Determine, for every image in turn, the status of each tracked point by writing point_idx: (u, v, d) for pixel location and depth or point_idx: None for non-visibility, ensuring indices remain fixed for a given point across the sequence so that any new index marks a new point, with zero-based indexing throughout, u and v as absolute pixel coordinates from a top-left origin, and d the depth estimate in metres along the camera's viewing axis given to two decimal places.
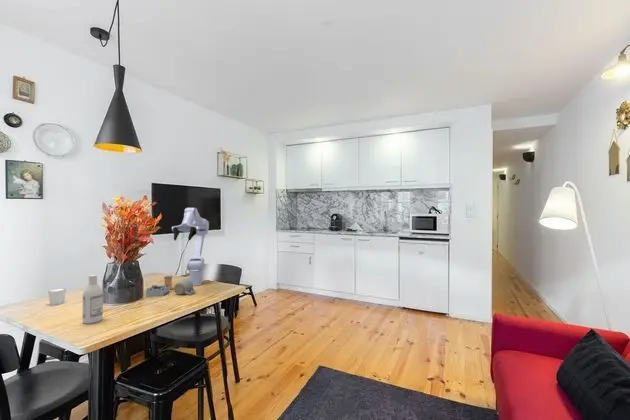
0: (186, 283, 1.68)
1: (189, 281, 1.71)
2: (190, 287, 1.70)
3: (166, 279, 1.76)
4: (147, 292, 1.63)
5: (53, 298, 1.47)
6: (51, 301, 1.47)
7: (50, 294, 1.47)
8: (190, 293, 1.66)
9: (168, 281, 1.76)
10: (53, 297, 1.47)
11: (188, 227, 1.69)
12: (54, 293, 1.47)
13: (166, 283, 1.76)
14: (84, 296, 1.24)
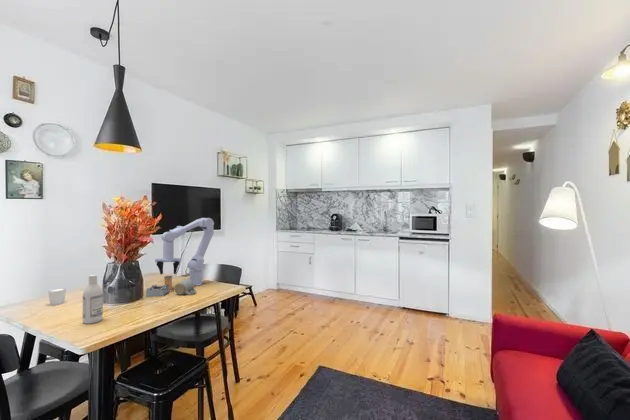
0: (187, 283, 1.68)
1: (190, 281, 1.71)
2: (191, 287, 1.70)
3: (166, 279, 1.76)
4: (147, 292, 1.63)
5: (53, 298, 1.47)
6: (51, 301, 1.47)
7: (50, 294, 1.47)
8: (191, 293, 1.66)
9: (168, 281, 1.76)
10: (53, 297, 1.47)
11: None
12: (54, 293, 1.47)
13: (166, 283, 1.76)
14: (84, 296, 1.24)
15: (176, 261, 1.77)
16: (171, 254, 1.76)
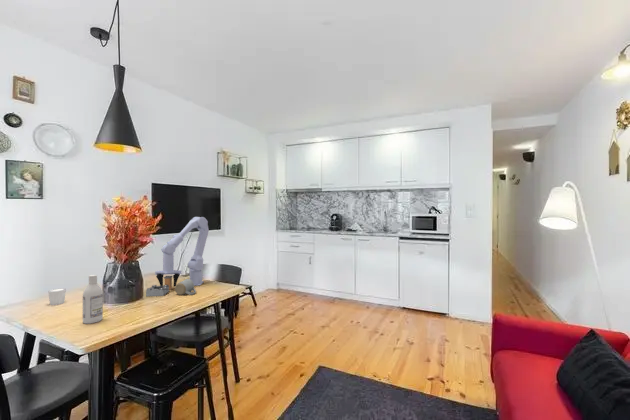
0: (187, 283, 1.68)
1: (190, 281, 1.71)
2: (191, 287, 1.69)
3: (166, 279, 1.76)
4: (147, 292, 1.63)
5: (53, 298, 1.47)
6: (51, 301, 1.47)
7: (50, 294, 1.47)
8: (191, 293, 1.66)
9: (168, 281, 1.76)
10: (53, 297, 1.47)
11: None
12: (54, 293, 1.47)
13: (166, 283, 1.76)
14: (84, 296, 1.24)
15: (176, 273, 1.77)
16: (171, 266, 1.76)
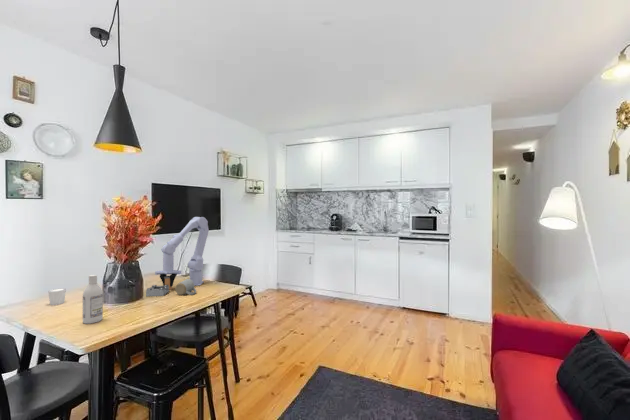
0: (187, 283, 1.68)
1: (190, 281, 1.71)
2: (191, 287, 1.69)
3: (166, 279, 1.76)
4: (147, 292, 1.63)
5: (53, 298, 1.47)
6: (51, 301, 1.47)
7: (50, 294, 1.47)
8: (191, 293, 1.66)
9: (168, 281, 1.76)
10: (53, 297, 1.47)
11: None
12: (54, 293, 1.47)
13: (166, 283, 1.76)
14: (84, 296, 1.24)
15: (173, 273, 1.77)
16: (171, 266, 1.76)
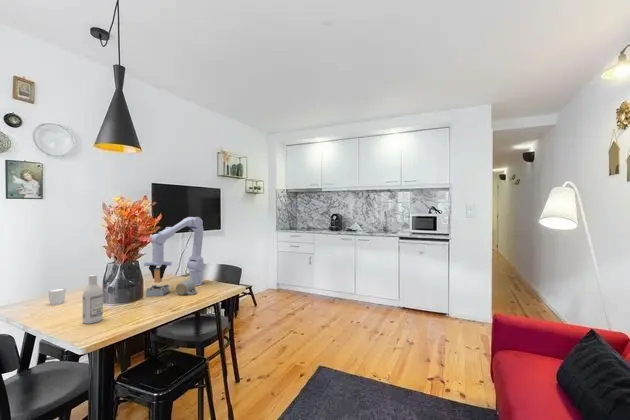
0: (188, 283, 1.68)
1: (191, 281, 1.70)
2: (192, 287, 1.69)
3: (156, 271, 1.67)
4: (147, 292, 1.63)
5: (53, 298, 1.47)
6: (51, 301, 1.47)
7: (50, 294, 1.47)
8: (192, 293, 1.66)
9: (158, 273, 1.67)
10: (53, 297, 1.47)
11: None
12: (54, 293, 1.47)
13: (156, 275, 1.67)
14: (84, 296, 1.24)
15: (163, 265, 1.68)
16: (161, 257, 1.67)
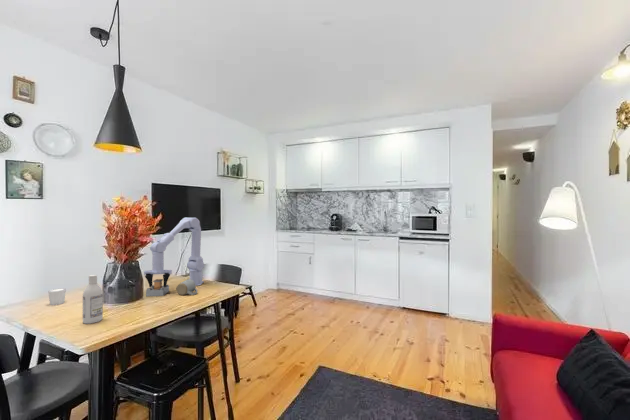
0: (189, 283, 1.67)
1: (192, 281, 1.70)
2: (193, 287, 1.69)
3: (156, 283, 1.67)
4: (147, 292, 1.63)
5: (53, 298, 1.47)
6: (51, 301, 1.47)
7: (50, 294, 1.47)
8: (193, 293, 1.66)
9: (158, 285, 1.67)
10: (53, 297, 1.47)
11: None
12: (54, 293, 1.47)
13: (156, 287, 1.67)
14: (84, 296, 1.24)
15: (166, 273, 1.68)
16: (161, 266, 1.67)
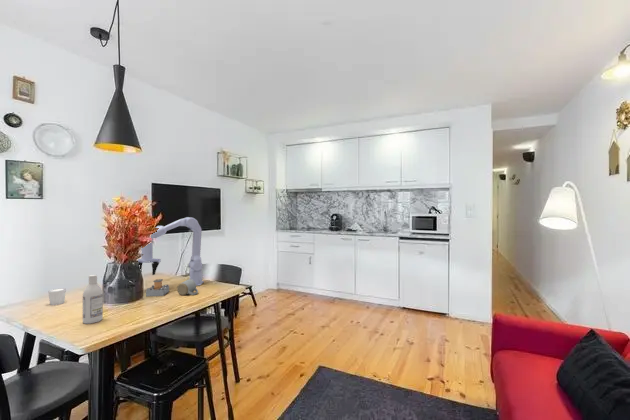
0: (189, 283, 1.67)
1: (192, 281, 1.70)
2: (193, 287, 1.69)
3: (156, 283, 1.67)
4: (147, 292, 1.63)
5: (53, 298, 1.47)
6: (51, 301, 1.47)
7: (50, 294, 1.47)
8: (193, 293, 1.65)
9: (158, 285, 1.67)
10: (53, 297, 1.47)
11: None
12: (54, 293, 1.47)
13: (156, 287, 1.67)
14: (84, 296, 1.24)
15: (155, 262, 1.73)
16: (150, 254, 1.72)
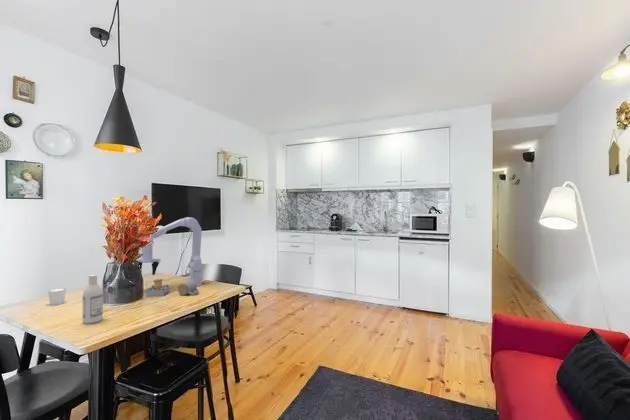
0: (190, 283, 1.67)
1: (193, 281, 1.70)
2: (194, 287, 1.69)
3: (156, 283, 1.67)
4: (147, 292, 1.63)
5: (53, 298, 1.47)
6: (51, 301, 1.47)
7: (50, 294, 1.47)
8: (194, 293, 1.65)
9: (158, 285, 1.67)
10: (53, 297, 1.47)
11: None
12: (54, 293, 1.47)
13: (156, 287, 1.67)
14: (84, 296, 1.24)
15: (155, 262, 1.73)
16: (150, 254, 1.72)
